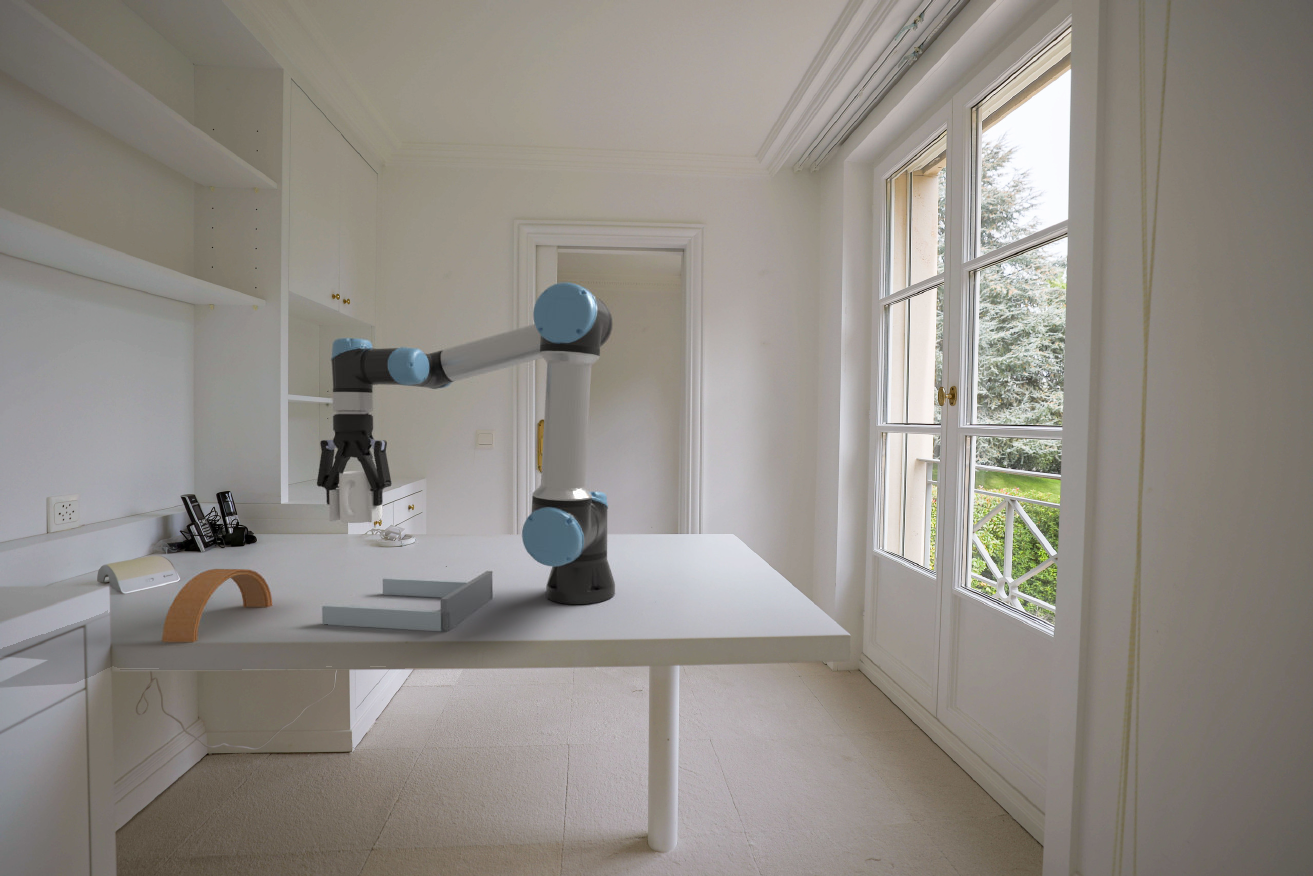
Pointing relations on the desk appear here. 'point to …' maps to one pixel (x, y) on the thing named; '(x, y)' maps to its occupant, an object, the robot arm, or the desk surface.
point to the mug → (354, 497)
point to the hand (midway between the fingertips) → (354, 520)
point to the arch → (197, 593)
